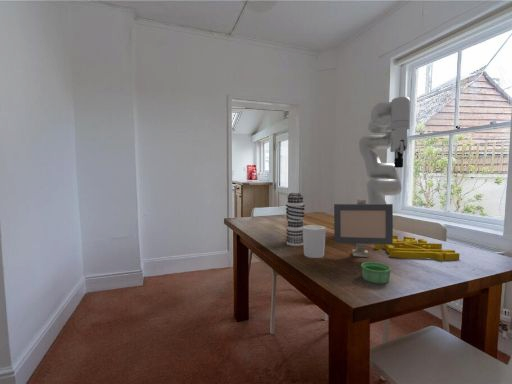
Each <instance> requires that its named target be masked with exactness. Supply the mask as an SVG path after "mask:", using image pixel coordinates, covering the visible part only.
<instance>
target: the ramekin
mask: <svg viewBox="0 0 512 384" xmlns="http://www.w3.org/2000/svg"><path fill="white" fill-rule="evenodd" d="M360 267H361V275H362V278H363V280H364V281H366V282H369V283H372V284H387V283H389V281H390V277H391V271H392V267H391V265H388V264H386V263H382V262H377V261H364V262H362V263H361V265H360Z"/></svg>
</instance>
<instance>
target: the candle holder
mask: <svg viewBox="0 0 512 384" xmlns="http://www.w3.org/2000/svg"><path fill="white" fill-rule="evenodd" d="M302 230H303V245H302V246H303V255H304V257H306V258H309V259H321V258H323V257H324V256H325V247H326V235H327V234H326V231H327V226H326V227H325V226H323V225H317V224H310V225H309V224H308V225H307V224H306V225H303V227H302Z"/></svg>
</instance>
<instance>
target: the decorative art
mask: <svg viewBox="0 0 512 384" xmlns="http://www.w3.org/2000/svg"><path fill="white" fill-rule="evenodd" d="M381 249H383V250H385V251H387V253H388V254H389V257H391V258H398V259H420V258H430V259H429V260H437V261H439V262H444V261H456V260H460V255H461V254H460V253H459V252H456V250H452V249H443V244H442V243H436V242H428V241H427V240H426V239H425V238H418V239H417V240H416V238H415V237H409V236H405V235H403V240H400V239H399V236H398V235H396V234H395V235H394V234H393V245H385V244H374V250H376V251H377V250H381Z"/></svg>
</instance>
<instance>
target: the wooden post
mask: <svg viewBox="0 0 512 384" xmlns="http://www.w3.org/2000/svg"><path fill="white" fill-rule="evenodd" d="M366 201H367V200H366V199H365V198H364V199H357V200H356V204H367V202H366ZM355 244H356V247H355V248H356V249H352V251H351V252H352V253H351V254H352V256H353V257H361V258H362V257H363V258H365V257H366V258H369V257H370V256H369V251H368V249H367V250H366V244H357V243H355Z"/></svg>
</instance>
